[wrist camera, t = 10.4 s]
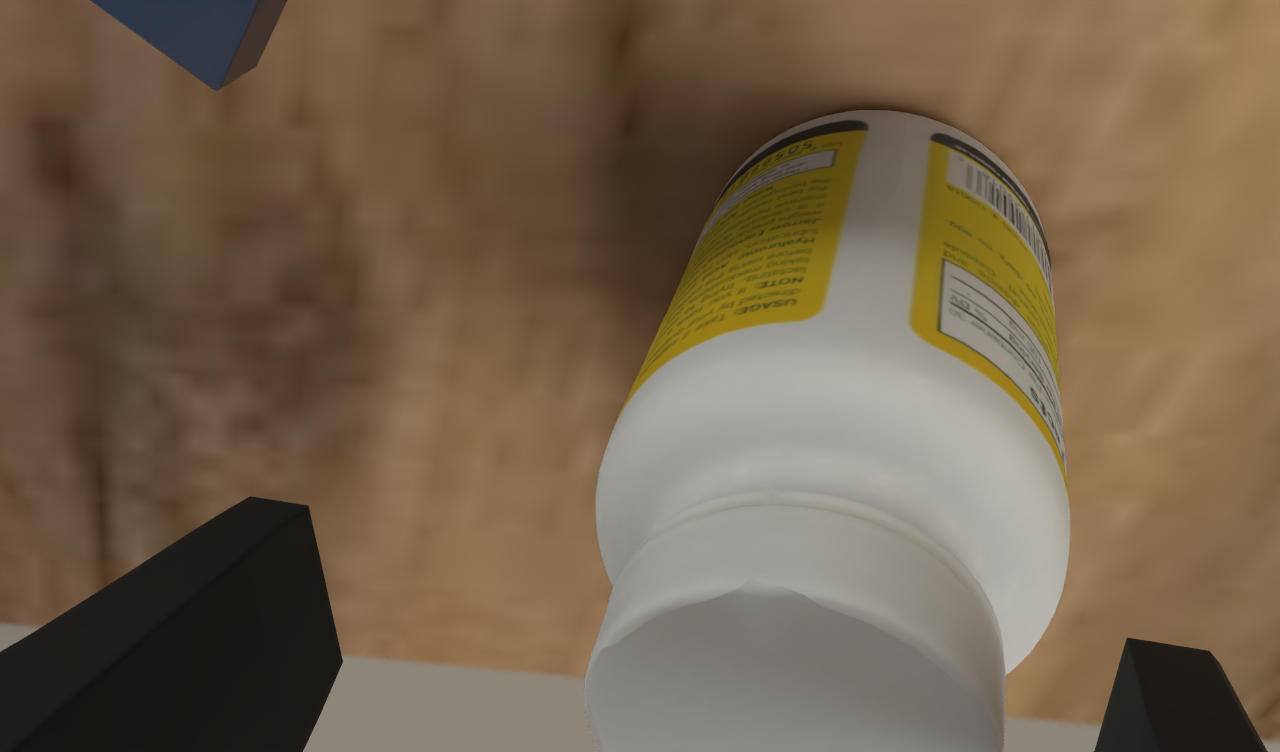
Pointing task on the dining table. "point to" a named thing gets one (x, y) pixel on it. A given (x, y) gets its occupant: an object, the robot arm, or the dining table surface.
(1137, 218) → the dining table surface
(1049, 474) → the supplement bottle
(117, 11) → the pan
